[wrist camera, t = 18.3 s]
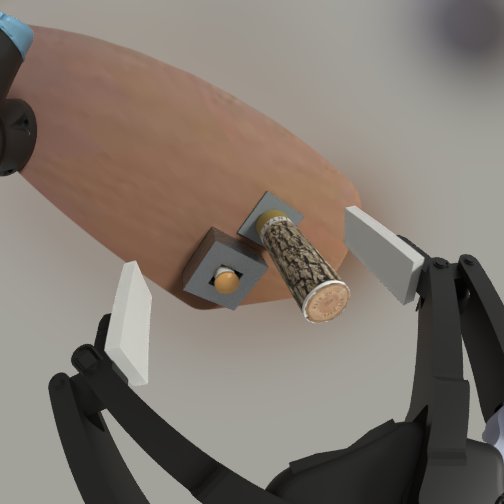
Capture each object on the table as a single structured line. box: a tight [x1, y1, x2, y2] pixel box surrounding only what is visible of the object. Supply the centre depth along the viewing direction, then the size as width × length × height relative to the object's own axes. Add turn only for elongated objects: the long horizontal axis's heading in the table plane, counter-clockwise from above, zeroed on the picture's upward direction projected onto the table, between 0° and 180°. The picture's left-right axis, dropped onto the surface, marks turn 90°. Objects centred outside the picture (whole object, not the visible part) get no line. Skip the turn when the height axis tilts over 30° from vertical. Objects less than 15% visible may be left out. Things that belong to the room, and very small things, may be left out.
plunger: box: [214, 264, 239, 294], centre depth 54 cm, size 5×5×7 cm
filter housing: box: [182, 227, 268, 310], centre depth 55 cm, size 12×12×6 cm
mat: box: [238, 191, 304, 247], centre depth 55 cm, size 10×10×1 cm
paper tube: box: [256, 210, 350, 323], centre depth 44 cm, size 7×7×25 cm
